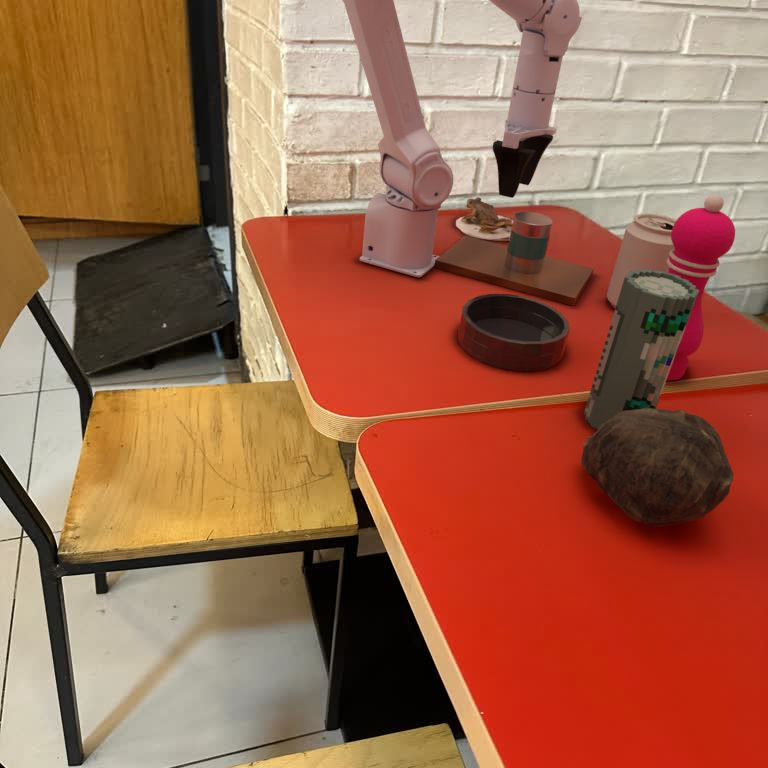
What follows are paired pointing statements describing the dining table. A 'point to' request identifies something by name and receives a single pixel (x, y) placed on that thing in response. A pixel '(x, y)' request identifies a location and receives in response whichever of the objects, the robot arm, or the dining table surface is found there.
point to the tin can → (528, 242)
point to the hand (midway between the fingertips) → (514, 189)
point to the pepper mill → (697, 265)
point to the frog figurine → (484, 222)
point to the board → (489, 266)
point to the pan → (513, 332)
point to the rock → (659, 465)
